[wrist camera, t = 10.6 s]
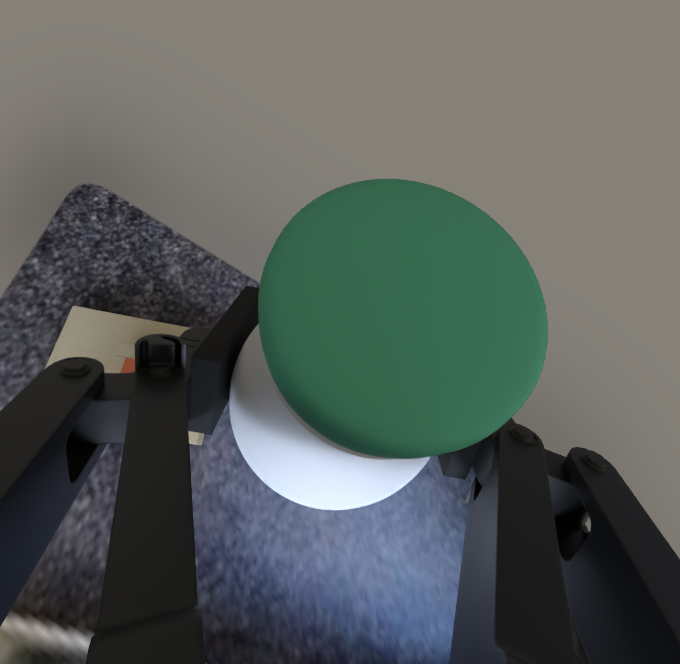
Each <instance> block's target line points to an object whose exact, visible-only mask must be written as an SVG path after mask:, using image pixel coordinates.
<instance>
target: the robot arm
mask: <svg viewBox="0 0 680 664" xmlns="http://www.w3.org/2000/svg"><path fill="white" fill-rule="evenodd" d="M258 297H259V288H255V287H250V286H246V287H245V288H244V289H243V291H242V292H241V293H240V295H239V296H238V297H237V298H236V300H235V301H234V302H233V304H232V305H231V306H230V307H229V309H228V310H227V311H226V312H225V314H224V315H223V316H222V318H221V319H220V320H219V321H218V323H217V324H216V325H215V327H214V328H213V329H209V328H204V327H199V326H195V327H192V328H190V329H188V330H185V331H184V332H183V333H182V334H181V335H180V337H177V336H174V335H170V334H151V335H147V336H143V337H142V338H140V339H138V340H137V341H136V343H135V372H131V373H104V366H103V364H102V362H100V361H98V360H96V359H93V358H88V357H72V358H71V357H70V358H65V359H62V360H59V361H56V362H54V363H52V364H51V365H49V366H48V367H47V368H46V369H45V370H43V371H42V372H41V373H40V374H39V375H38V376H37V377H36V378H35V379H34V380H33V381H32V382H31V383H30V384H29V385H28V386H27V387H25V388H24V389H23V390H22V391H21V392H20V393H19V394H18V395H17V396H16V397H15V398H14V399H13V400H12V401H11V402H10V403H9V404H7V405H6V406H5V407H4V408H3V409H2V410H1V411H0V626H1V625H2V623H3V621H4V619H5V618H6V616H7V614H8V613H9V611H10V609H11V607H12V606H13V604H14V602H15V601H16V599H17V597H18V595H19V594H20V592H21V590H22V589H23V587H24V585H25V584H26V582H27V580H28V578H29V577H30V575H31V573H32V572H33V570H34V568H35V566H36V565H37V563H38V561H39V560H40V558H41V556H42V554H43V553H44V551H45V549H46V548H47V546H48V544H49V542H50V541H51V539H52V537H53V536H54V534H55V532H56V531H57V529H58V527H59V525H60V524H61V522H62V520H63V519H64V517H65V515H66V513H67V512H68V510H69V508H70V507H71V505H72V503H73V501H74V500H75V498H76V496H77V495H78V493H79V491H80V489H81V488H82V486H83V484H84V483H85V481H86V479H87V478H88V476H89V474H90V472H91V471H92V469H93V467H94V466H95V464H96V462H97V460H98V459H99V457H100V455H101V454H102V452H103V450H104V448H105V447H106V445H107V443H122V442H124V448H123V455H122V462H121V469H120V476H119V482H118V489H117V496H116V503H115V510H114V517H113V524H112V530H111V537H110V544H109V551H108V558H107V565H106V571H105V578H104V585H103V592H102V599H101V606H100V612H99V619H98V625H97V629H96V633H95V634H94V636H93V637H92V638H91V642H90V645H89V649H88V654H87V660H86V664H205V661H204V644H203V629H202V617H201V610H200V607H199V606H198V599H197V582H196V563H195V545H194V526H193V507H192V489H191V470H190V451H189V433H188V431H191V432H197V433H203V434H208V435H212V433H213V431H214V429H215V427H216V425H217V423H218V421H219V419H220V416H221V414H222V412H223V410H224V408H225V406H226V404H227V402H228V400H229V394H230V384H231V377H232V373H233V370H234V366H235V363H236V361H237V358H238V356H239V353H240V351H241V349H242V347H243V345H244V343H245V342H246V340H247V339H248V337H249V335H250V334H251V333H252V331H253V330H254V329H255V327H256V326H257V325H258V324H259V320H258ZM437 456H438V459H439V463H440V466H441V469H442V472H443V475H444V476H449V477H455V478H461V479H466V477H467V475H468V473H469V470H470V468H471V466H472V467H473V469H474V472H475V474H476V477H475V479H474V481H473V483H472V485H471V487H470V489H469V491H468V494H467V496H466V498H465V500H464V502H463V503H464V504H467V502H468V501H469V507H468V515H467V523H466V531H465V539H464V547H463V556H462V564H461V572H460V580H459V588H458V596H457V605H456V613H455V621H454V629H453V637H452V646H451V654H450V662H449V664H576V659H575V652H574V645H573V639H572V632H571V626H570V619H569V612H568V607H569V610H570V612H571V615H572V618H573V620H574V623H575V626H576V628H577V631H578V634H579V636H580V639H581V642H582V644H583V647H584V650H585V652H586V655H587V658H588V660H589V663H590V664H680V559H679V558H678V556H677V555H676V553H675V552H674V551H673V549H672V548H671V546H670V545H669V544H668V542H667V541H666V539H665V538H664V537H663V535H662V534H661V532H660V531H659V530H658V528H657V527H656V525H655V524H654V523H653V522H652V520H651V518H650V517H649V515H648V514H647V513H646V511H645V510H644V508H643V507H642V506H641V504H640V503H639V501H638V500H637V499H636V497H635V496H634V494H633V493H632V491H631V490H630V489H629V487H628V486H627V485H626V483H625V482H624V480H623V479H622V477H621V476H620V475H619V473H618V472H617V471H616V469H615V468H614V467H613V466H612V465H611V463H609V462H608V461H607V460H606V459H604V458H603V457H602V456H601V455H599V454H596V452H594V451H590V450H587V449H585V448H579V447H575V448H572V449H571V450H570V452H569V453H568V455H567V457H564V456H562V455H559V454H556V453H554V452H551V451H549V450H546V449H544V446H543V443H542V441H541V439H540V438H539V437H538V436H537V435H536V434H535V433H534V432H532V431H531V430H530V429H528V428H526V427H524V426H522V425H520V424H516V423H515V422H514V421H513V419H512V417H511V418H510V419H509V420H508V421H507V422H506V423H505V424H503V425H502V426H501V427H500V428H499V429H498V430H496V431H495V432H494V433H492V434H491V435H489V436H488V437H486V438H485V439H483V440H481V441H479V442H477V443H475V444H473V445H471V446H468V447H466V448H463V449H460V450H457V451H453V452H450V453H446V454H441V455H437ZM589 517H590V520H591V531H590V532H589V531H588V529H587V527H586V525H585V523H586V522H587V520H588V519H589ZM567 604H568V606H567Z"/></svg>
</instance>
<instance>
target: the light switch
mask: <svg viewBox="0 0 680 664" xmlns="http://www.w3.org/2000/svg"><path fill="white" fill-rule="evenodd" d="M188 329H190V328H188V327H183V326H178V325H172V324H167V323H162V322H157V321H151V320H146V319H141V318H135V317H130V316H125V315H120V314H114V313H109V312H104V311H99V310H93V309H88V308H83V307H78V306H73V307H72V309H71V311H70V314H69V316H68V318H67V320H66V323H65V325H64V327H63V329H62V332H61V334H60V336H59V338H58V340H57V343H56V345H55V347H54V349H53V352H52V354H51V356H50V358H49V361H48V363H47V365H46V367H45V369H46V368H47V367H48V366H49V365H51V364H52V363H54V362H56V361H59V360H62V359H65V358H70V357H71V358H72V357H88V358H93V359H96V360H98V361H100V362H102V364H103V366H104V373H120V372H121V369H122V366H123V364H124V361H125V358H126V357H127V358H133V359H135V343H136V341H137V340H138V339H140V338H142V337H143V336H147V335H151V334H170V335H174V336H177V337H180V335H181V334H182V333H183V332H184V331H185V330H188ZM188 433H189V443H190V444H196V445H202V443H203V439H204V435H205V434H203V433H197V432H191V431H188Z"/></svg>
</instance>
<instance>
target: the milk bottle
mask: <svg viewBox="0 0 680 664" xmlns="http://www.w3.org/2000/svg"><path fill="white" fill-rule="evenodd" d="M258 320H259V324H258V325H257V326H256V327H255V329H254V330H253V331H252V333H251V334H250V335H249V337H248V339H247V340H246V342H245V343H244V345H243V347H242V349H241V351H240V353H239V356H238V358H237V361H236V363H235V366H234V370H233V373H232V377H231V384H230V394H229V406H230V418H231V425H232V429H233V432H234V436H235V439H236V441H237V444H238V446H239V449H240V451H241V453H242V455H243V456H244V458H245V460H246V461H247V463H248V464H249V466H250V467H251V468H252V470H253V471H254V472H255V473H256V475H257V476H258V477H259V478H260V479H261V480H262V481H263V482H264V483H266V484H267V485H268V486H269V487H270V488H271V489H273V490H274V491H276V492H277V493H279V494H280V495H282V496H284V497H286V498H287V499H289V500H291V501H294V502H296V503H299V504H301V505H305V506H308V507H312V508H317V509H324V510H347V509H352V508H358V507H363V506H366V505H370V504H373V503H375V502H378V501H380V500H383V499H385V498H387V497H388V496H390V495H392V494H394V493H395V492H397V491H398V490H400V489H401V488H402V487H404V486H405V485H406V484H407V483H408V482H409V481H411V480H412V479H413V478H414V477H415V476H416V475H417V474H418V473H419V472H420V471H421V469H422V468H423V467H424V466H425V464H426V463H427V462H428V460H429V458H430V457H431V456H436V455H441V454H446V453H450V452H453V451H457V450H460V449H463V448H466V447H468V446H471V445H473V444H475V443H477V442H479V441H481V440H483V439H485V438H486V437H488V436H489V435H491V434H492V433H494V432H495V431H496V430H498V429H499V428H500V427H501V426H502V425H503V424H505V423H506V422H507V421H508V420H509V419H510V418H511V417H512V416H514V414H515V413H516V412H517V411H518V410H519V409H520V408H521V407H522V406H523V404H524V403H525V401H526V400H527V399H528V397H529V396H530V394H531V392H532V391H533V389H534V387H535V385H536V383H537V381H538V379H539V376H540V374H541V371H542V368H543V364H544V360H545V356H546V350H547V341H548V321H547V313H546V307H545V302H544V298H543V294H542V291H541V288H540V286H539V283H538V280H537V278H536V275H535V273H534V271H533V269H532V267H531V265H530V263H529V262H528V260H527V258H526V257H525V255H524V254H523V252H522V251H521V249H520V248H519V246H518V245H517V244H516V242H515V241H514V240H513V239H512V237H511V236H510V235H509V234H508V233H507V232H506V231H505V230H504V229H503V228H502V227H501V226H500V225H499V224H498V223H497V222H496V221H495V220H494V219H492V218H491V217H490V216H489V215H487V214H486V213H485V212H484V211H482V210H480V209H479V208H478V207H476V206H475V205H473V204H472V203H470V202H468V201H466V200H465V199H463V198H461V197H459V196H457V195H455V194H453V193H451V192H448V191H446V190H443V189H441V188H438V187H435V186H432V185H428V184H424V183H420V182H415V181H409V180H400V179H374V180H366V181H360V182H355V183H351V184H348V185H344V186H342V187H339V188H336V189H334V190H331V191H329V192H327V193H325V194H323V195H321V196H320V197H318V198H316V199H315V200H313V201H312V202H310V203H309V204H308V205H306V206H305V207H304V208H302V209H301V210H300V211H299V212H298V213H297V214H296V215H295V216H294V217H293V218H292V219H291V220H290V222H289V223H288V224H287V225H286V227H285V228H284V229H283V231H282V232H281V234H280V235H279V237H278V238H277V240H276V242H275V244H274V246H273V248H272V250H271V252H270V254H269V256H268V258H267V261H266V264H265V266H264V269H263V273H262V277H261V281H260V288H259V297H258Z"/></svg>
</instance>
